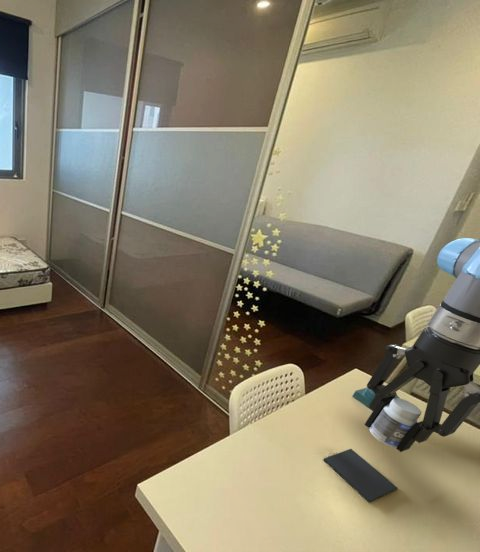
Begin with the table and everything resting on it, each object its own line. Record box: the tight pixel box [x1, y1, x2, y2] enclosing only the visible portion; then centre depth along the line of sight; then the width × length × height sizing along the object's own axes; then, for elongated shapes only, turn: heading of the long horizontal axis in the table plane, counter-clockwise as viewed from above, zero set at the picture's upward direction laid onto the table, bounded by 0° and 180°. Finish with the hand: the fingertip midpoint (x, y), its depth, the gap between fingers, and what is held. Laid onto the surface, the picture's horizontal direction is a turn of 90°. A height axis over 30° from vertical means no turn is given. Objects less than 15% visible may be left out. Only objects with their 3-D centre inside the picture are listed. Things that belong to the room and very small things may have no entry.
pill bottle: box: [369, 397, 422, 448], centre depth 60 cm, size 5×5×8 cm
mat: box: [323, 448, 399, 503], centre depth 66 cm, size 9×9×1 cm
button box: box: [352, 386, 400, 410], centre depth 85 cm, size 8×8×4 cm
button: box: [382, 384, 398, 400], centre depth 84 cm, size 4×4×2 cm
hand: (386, 436), depth 62 cm, fingers closed on pill bottle, 5 cm apart
